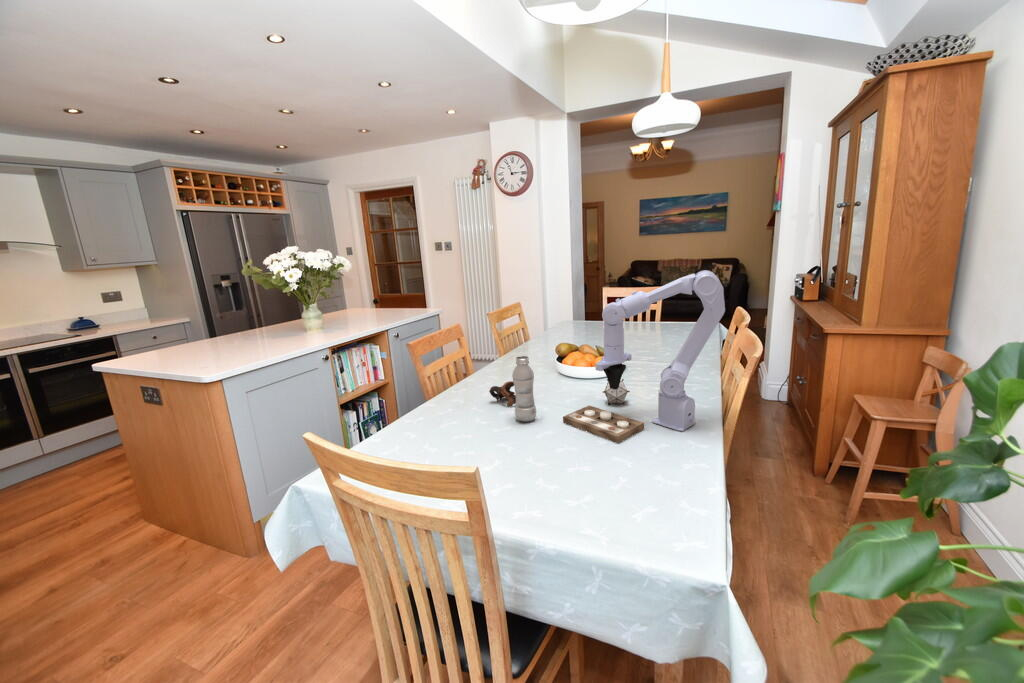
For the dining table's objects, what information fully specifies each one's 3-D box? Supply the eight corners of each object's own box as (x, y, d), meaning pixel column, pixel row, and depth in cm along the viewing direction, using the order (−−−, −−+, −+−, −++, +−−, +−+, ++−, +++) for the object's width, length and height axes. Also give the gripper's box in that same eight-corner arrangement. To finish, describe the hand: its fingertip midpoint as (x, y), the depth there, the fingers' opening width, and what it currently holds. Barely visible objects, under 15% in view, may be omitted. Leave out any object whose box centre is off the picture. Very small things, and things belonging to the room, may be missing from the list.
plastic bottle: (535, 424, 131) (531, 360, 127) (513, 424, 133) (509, 360, 128) (538, 416, 137) (535, 354, 133) (517, 415, 139) (513, 354, 134)
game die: (619, 416, 143) (621, 399, 135) (596, 403, 147) (597, 386, 139) (633, 396, 147) (635, 379, 139) (611, 384, 151) (612, 367, 143)
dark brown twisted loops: (521, 396, 157) (526, 380, 152) (520, 416, 149) (526, 400, 144) (488, 391, 156) (492, 374, 150) (486, 411, 148) (490, 394, 143)
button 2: (630, 429, 123) (630, 422, 123) (624, 432, 121) (624, 426, 121) (621, 426, 126) (621, 419, 125) (614, 429, 124) (614, 422, 123)
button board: (644, 429, 123) (644, 421, 123) (618, 443, 116) (618, 435, 115) (589, 411, 138) (589, 404, 138) (563, 422, 131) (562, 415, 131)
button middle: (613, 419, 128) (613, 413, 127) (606, 422, 126) (606, 416, 125) (604, 416, 130) (604, 410, 130) (597, 419, 128) (597, 413, 128)
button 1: (597, 417, 132) (597, 411, 132) (590, 421, 130) (590, 414, 130) (589, 415, 135) (589, 409, 134) (582, 418, 133) (582, 412, 132)
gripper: (617, 337, 135) (618, 379, 138) (586, 347, 126) (587, 391, 129) (637, 340, 129) (637, 384, 132) (606, 350, 120) (607, 397, 123)
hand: (614, 388), depth 130 cm, fingers closed
